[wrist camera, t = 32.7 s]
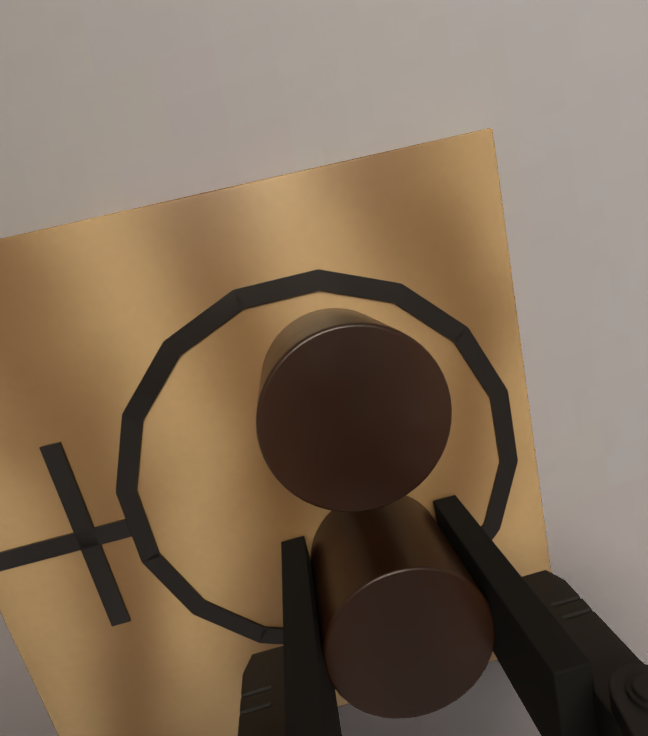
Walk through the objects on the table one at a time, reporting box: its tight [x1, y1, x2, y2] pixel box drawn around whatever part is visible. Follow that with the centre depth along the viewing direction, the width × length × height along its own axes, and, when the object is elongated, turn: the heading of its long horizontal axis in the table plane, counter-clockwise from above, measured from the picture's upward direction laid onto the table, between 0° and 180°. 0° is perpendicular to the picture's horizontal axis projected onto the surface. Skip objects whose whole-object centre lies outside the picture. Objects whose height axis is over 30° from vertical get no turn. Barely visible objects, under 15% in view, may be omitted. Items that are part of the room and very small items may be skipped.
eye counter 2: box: [256, 308, 452, 512], centre depth 12 cm, size 4×4×4 cm
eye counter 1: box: [311, 495, 495, 718], centre depth 13 cm, size 4×4×4 cm
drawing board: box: [0, 128, 551, 736], centre depth 15 cm, size 18×18×1 cm
